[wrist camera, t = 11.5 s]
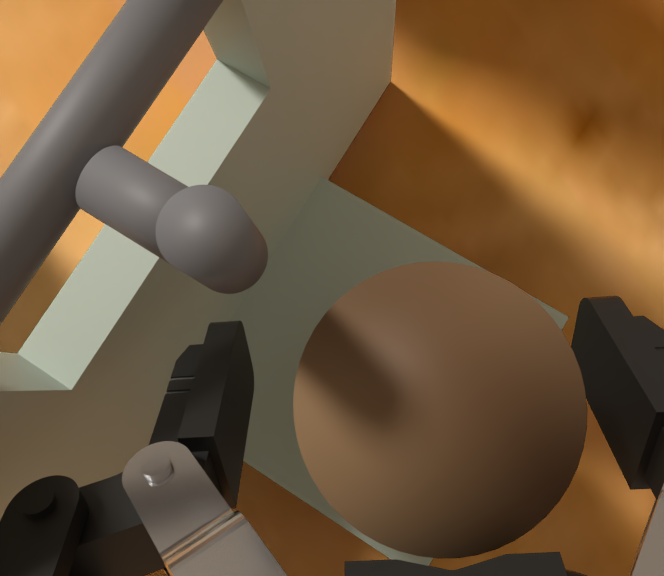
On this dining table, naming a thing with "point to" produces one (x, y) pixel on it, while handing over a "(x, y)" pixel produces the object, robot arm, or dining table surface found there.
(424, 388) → the ball
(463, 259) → the slide bolt latch
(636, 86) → the dining table surface
